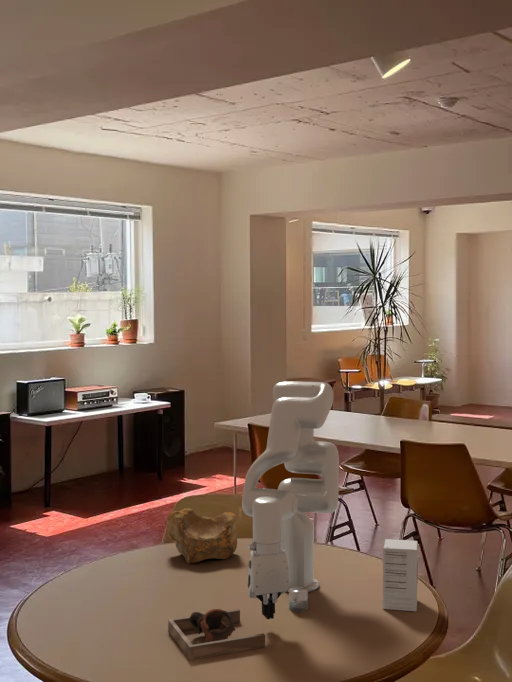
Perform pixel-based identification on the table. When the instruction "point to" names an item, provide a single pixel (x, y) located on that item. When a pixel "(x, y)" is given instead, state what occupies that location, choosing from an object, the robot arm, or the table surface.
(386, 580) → the supplement box
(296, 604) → the grey tin
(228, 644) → the display frame
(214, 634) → the pottery mug
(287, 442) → the robot arm
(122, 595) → the table surface
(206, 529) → the rough brown rock
